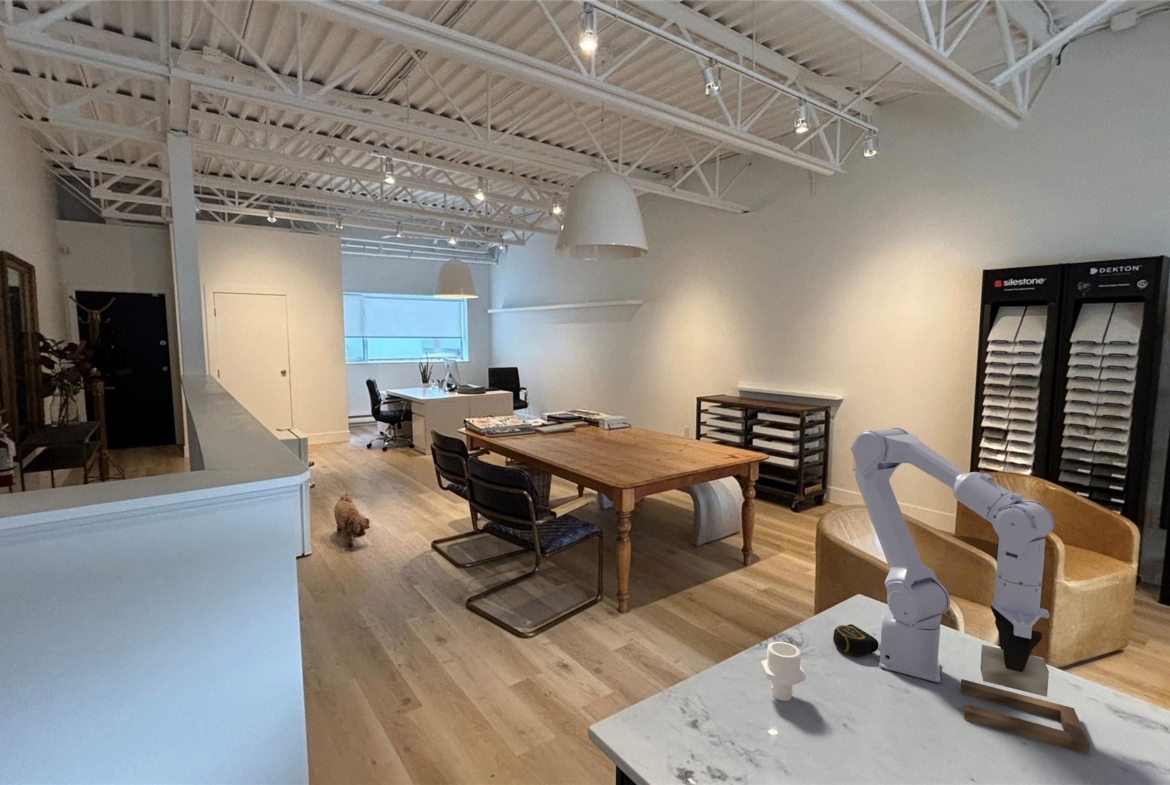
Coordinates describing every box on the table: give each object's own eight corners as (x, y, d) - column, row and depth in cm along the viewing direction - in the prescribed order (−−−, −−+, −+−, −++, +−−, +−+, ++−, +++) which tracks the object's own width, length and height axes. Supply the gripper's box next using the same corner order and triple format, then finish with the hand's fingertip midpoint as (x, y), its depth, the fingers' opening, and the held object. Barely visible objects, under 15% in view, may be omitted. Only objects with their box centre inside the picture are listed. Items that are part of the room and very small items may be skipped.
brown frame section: (964, 719, 90) (965, 710, 89) (960, 687, 98) (961, 678, 98) (1089, 755, 82) (1090, 745, 82) (1072, 716, 91) (1073, 708, 90)
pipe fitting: (751, 690, 96) (753, 645, 95) (782, 679, 99) (784, 635, 99) (780, 712, 90) (782, 664, 90) (812, 700, 94) (814, 653, 93)
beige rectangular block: (983, 681, 90) (984, 656, 90) (980, 667, 94) (981, 644, 94) (1047, 697, 86) (1048, 671, 86) (1041, 682, 90) (1043, 657, 90)
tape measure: (880, 657, 108) (881, 638, 107) (850, 662, 106) (852, 643, 105) (852, 639, 114) (854, 621, 114) (824, 643, 112) (825, 625, 112)
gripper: (1061, 602, 81) (1053, 693, 82) (1042, 568, 93) (1035, 648, 94) (1000, 590, 84) (993, 678, 85) (989, 560, 97) (983, 636, 98)
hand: (1011, 661), depth 90 cm, fingers closed on beige rectangular block, 4 cm apart
